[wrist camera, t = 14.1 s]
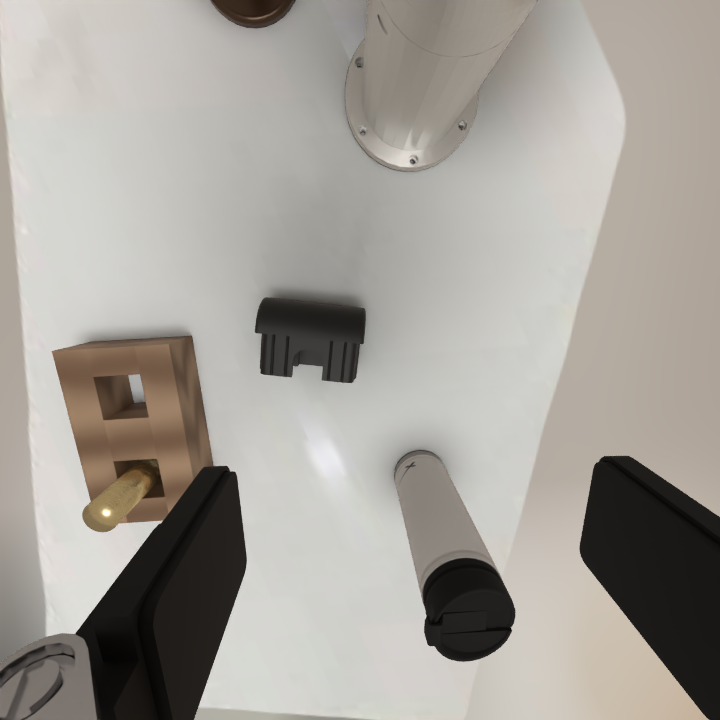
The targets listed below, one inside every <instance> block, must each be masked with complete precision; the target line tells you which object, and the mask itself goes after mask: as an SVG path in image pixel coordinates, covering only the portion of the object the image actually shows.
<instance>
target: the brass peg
mask: <svg viewBox="0 0 720 720" xmlns="http://www.w3.org/2000/svg"><path fill="white" fill-rule="evenodd" d="M160 479H161V474H160V469H159V464H158V459H142V460H139V461H138V462H137V463H136V464H135V465H134V466H132V467H131V468H130V469H129V470H128V471H127V472H125V473H124V474H123V475H122V476H121V477H120V478H118V479H117V480H116V481H115V482H114V483H113V484H111V485H110V486H109V487H108V488H107V489H106V490H105V491H103V492H102V493H101V494H100V495H99V496H98V497H96V498H95V499H94V500H93V501H92V502H91V503H89V504H88V505H87V506H86V507H85V508H84V510H83V514H82V515H83V520H84V522H85V524H86V525H87V526H88V527H89V528H91V529H92V530H95V531H98V532H107V531H110V530H112V529H113V528H115V527H116V525H117V524H118V523H119V522H120V521H121V520H122V519H123V518H124V517H125V516H126V515H127V514H128V513H129V512H130V511H131V510H132V509H133V507H134V506H135V505H136V504H137V503H138V502H139V501H140V500H141V499H142V498H143V497H144V496H145V495H146V494H147V493H148V492H149V491H150V490H151V488H152V487H153V486H154V485H155V484H156V483H157V482H158V481H159V480H160Z"/></svg>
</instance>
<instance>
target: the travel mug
mask: <svg viewBox="0 0 720 720" xmlns="http://www.w3.org/2000/svg"><path fill="white" fill-rule="evenodd" d="M394 479H395V483H396V488H397V492H398V496H399V501H400V505H401V510H402V514H403V518H404V523H405V527H406V531H407V536H408V540H409V545H410V549H411V553H412V558H413V562H414V566H415V571H416V575H417V579H418V584H419V588H420V592H421V597H422V601H423V604H424V606H425V610H426V615H427V617H426V619H425V626H424V633H425V637H426V640H427V644H428V645H429V646H435V647H436V649H437V650H438V652H440V653H441V654H442V655H443V656H445V657H446V658H448V659H451V660H455V661H463V662H464V661H473V660H477V659H481V658H483V657H485V656H488V655H489V654H491V653H493V652H495V651H496V650H497V649H499V648H500V647H501V646H502V645H503V644H504V643H505V642H506V641H507V639H508V637H509V636H510V634H511V632H512V630H511V627H512V625H513V624H514V619H515V608H514V605H513V602H512V599H511V597H510V595H509V593H508V591H507V589H506V587H505V585H504V583H503V581H502V578H501V576H500V574H499V572H498V570H497V568H496V566H495V564H494V562H493V560H492V558H491V556H490V554H489V552H488V550H487V548H486V546H485V544H484V542H483V540H482V539H481V537H480V535H479V533H478V531H477V529H476V527H475V525H474V523H473V521H472V519H471V517H470V515H469V513H468V511H467V509H466V507H465V505H464V503H463V501H462V500H461V498H460V496H459V494H458V492H457V490H456V488H455V486H454V484H453V482H452V480H451V478H450V476H449V474H448V472H447V470H446V468H445V466H444V464H443V462H442V461H441V460H440V458H439V457H437V456H436V455H435V454H433V453H431V452H427V451H415V452H412V453H409V454H407V455H406V456H404V457H403V458H402V459H401V460H400V461H399V462H398V464H397V466H396V468H395V472H394Z"/></svg>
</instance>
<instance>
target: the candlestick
mask: <svg viewBox="0 0 720 720" xmlns="http://www.w3.org/2000/svg"><path fill="white" fill-rule="evenodd" d="M211 2H212V4H213V5H214V6H215V7H216V9H217V10H218V11H219V12H220V13H221V14H222V15H223V16H225V17H226V18H227V19H228V20H230V21H232V22H234V23H235V24H237V25H240V26H244V27H247V28H261V27H267V26H269V25H272V24H274V23H276V22H277V21H279V20H280V19H281V18H283V17H284V16H285V15H286V14H287V12H288V11H289V10H290V9H291V7H292V5H293V4H294V2H295V0H211Z"/></svg>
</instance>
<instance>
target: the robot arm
mask: <svg viewBox="0 0 720 720" xmlns="http://www.w3.org/2000/svg"><path fill="white" fill-rule="evenodd" d="M537 1H538V0H368V6H367V21H366V36H365V39H364V40H363V41H362V42H361V44H360V45H359V47H358V49H357V50H356V52H355V54H354V55H353V58H352V60H351V63H350V66H349V68H348V73H347V78H346V83H345V106H346V113H347V117H348V122H349V125H350V127H351V130H352V132H353V134H354V136H355V138H356V140H357V141H358V143H359V144H360V146H361V147H362V148H363V149H364V150H365V151H366V153H367V154H368V155H369V156H370V157H372V158H373V159H375V160H376V161H377V162H379V163H380V164H382V165H385V166H387V167H389V168H391V169H396V170H400V171H418V170H423V169H427V168H429V167H432V166H434V165H436V164H438V163H440V162H441V161H443V160H444V159H446V158H447V157H449V156H450V155H451V154H452V153H453V151H454V150H455V149H456V148H457V147H458V146H459V145H460V144H461V142H462V141H463V140H464V138H465V137H466V135H467V133H468V132H469V130H470V128H471V125H472V123H473V120H474V117H475V114H476V110H477V104H478V97H479V87H480V86H481V84H482V83H483V81H484V80H485V78H486V77H487V75H488V74H489V72H490V71H491V69H492V68H493V66H494V65H495V64H496V62H497V61H498V59H499V58H500V56H501V55H502V53H503V52H504V50H505V49H506V47H507V46H508V44H509V43H510V41H511V40H512V38H513V37H514V35H515V34H516V32H517V31H518V29H519V28H520V27H521V25H522V24H523V22H524V21H525V19H526V18H527V16H528V14H529V13H530V11H531V10H532V8H533V7H534V5H535V4H536V2H537ZM358 66H361V67H362V68H357V67H358ZM459 126H460V127H462V130H460V129H459ZM362 131H363V132H365V135H361V134H360V133H361V132H362ZM410 160H413V161H414V162H415V163H414V164H411V163H410ZM580 554H581V557H582V559H583V561H584V563H585V564H586V566H587V567H588V568H589V569H590V571H591V572H592V573H593V574H594V576H595V577H596V578H597V580H598V581H599V582H600V583H601V585H602V586H603V587H604V588H605V590H606V591H607V592H608V594H609V595H610V596H611V597H612V599H613V600H614V601H615V602H616V603H617V605H618V606H619V607H620V609H621V610H622V611H623V613H624V614H625V615H626V616H627V618H628V619H629V620H630V621H631V623H632V624H633V625H634V627H635V628H636V629H637V630H638V631H639V632H640V634H641V635H642V637H643V638H644V639H645V640H646V642H647V643H648V644H649V646H650V647H651V648H652V649H653V651H654V652H655V653H656V654H657V656H658V657H659V658H660V660H661V661H662V662H663V663H664V665H665V666H666V667H667V668H668V670H669V671H670V672H671V673H672V675H673V676H674V677H675V679H676V680H677V681H678V682H679V684H680V685H681V686H682V687H683V688H684V690H685V691H686V693H687V694H688V695H689V696H690V698H691V699H692V700H693V701H694V703H695V704H696V705H697V706H698V708H699V709H700V710H701V712H702V713H703V714H704V715H705V716H706V717H707V718H708V719H709V720H720V517H719V516H717V515H716V514H714V513H713V512H711V511H710V510H708V509H707V508H706V507H704V506H702V505H701V504H699V503H698V502H697V501H695V500H694V499H692V498H690V497H689V496H688V495H686V494H685V493H683V492H682V491H680V490H679V489H678V488H676V487H675V486H673V485H672V484H670V483H669V482H667V481H666V480H664V479H663V478H661V477H660V476H658V475H657V474H655V473H654V472H653V471H651V470H650V469H648V468H647V467H645V466H644V465H642V464H641V463H639V462H638V461H636V460H635V459H633V458H631V457H629V456H604V457H602V458H601V459H600V461H599V462H598V463H596V464H595V466H594V469H593V475H592V480H591V486H590V492H589V497H588V502H587V508H586V514H585V519H584V525H583V531H582V536H581V542H580ZM246 562H247V557H246V548H245V540H244V532H243V523H242V515H241V506H240V498H239V490H238V481H237V475H236V472H230V470H229V468H228V467H227V466H208V467H203V468H202V469H201V470H200V472H199V473H198V475H197V476H196V477H195V479H194V480H193V481H192V483H191V484H190V485H189V487H188V488H187V489H186V491H185V492H184V493H183V495H182V496H181V497H180V499H179V500H178V502H177V503H176V504H175V506H174V507H173V508H172V510H171V511H170V512H169V514H168V515H167V516H166V518H165V519H164V520H163V522H162V523H161V524H159V525H158V526H157V527H156V528H155V529H154V530H153V531H152V533H151V534H150V535H149V537H148V538H147V539H146V541H145V542H144V543H143V545H142V546H141V547H140V549H139V550H138V551H137V553H136V554H135V555H134V557H133V558H132V559H131V561H130V562H129V563H128V564H127V566H126V567H125V568H124V570H123V571H122V572H121V574H120V575H119V576H118V578H117V579H116V580H115V582H114V583H113V584H112V586H111V587H110V588H109V590H108V591H107V592H106V594H105V595H104V596H103V598H102V599H101V600H100V602H99V603H98V604H97V606H96V607H95V608H94V610H93V611H92V612H91V614H90V615H89V616H88V618H87V619H86V620H85V622H84V623H83V624H82V626H81V627H80V628H79V630H78V631H77V632H76V634H64V633H62V634H57V635H53V636H48V637H45V638H43V639H40V640H38V641H35V642H33V643H31V644H29V645H27V646H25V647H23V648H22V649H20V650H18V651H17V652H15V653H13V654H12V655H10V656H8V657H7V658H6V659H4V660H3V661H2V662H1V663H0V720H194V718H195V715H196V712H197V709H198V706H199V703H200V700H201V697H202V695H203V692H204V689H205V686H206V683H207V680H208V677H209V674H210V672H211V669H212V666H213V663H214V660H215V657H216V654H217V651H218V649H219V646H220V643H221V640H222V637H223V634H224V631H225V628H226V626H227V623H228V620H229V617H230V614H231V611H232V608H233V606H234V603H235V600H236V597H237V594H238V591H239V588H240V585H241V583H242V580H243V577H244V574H245V570H246Z"/></svg>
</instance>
